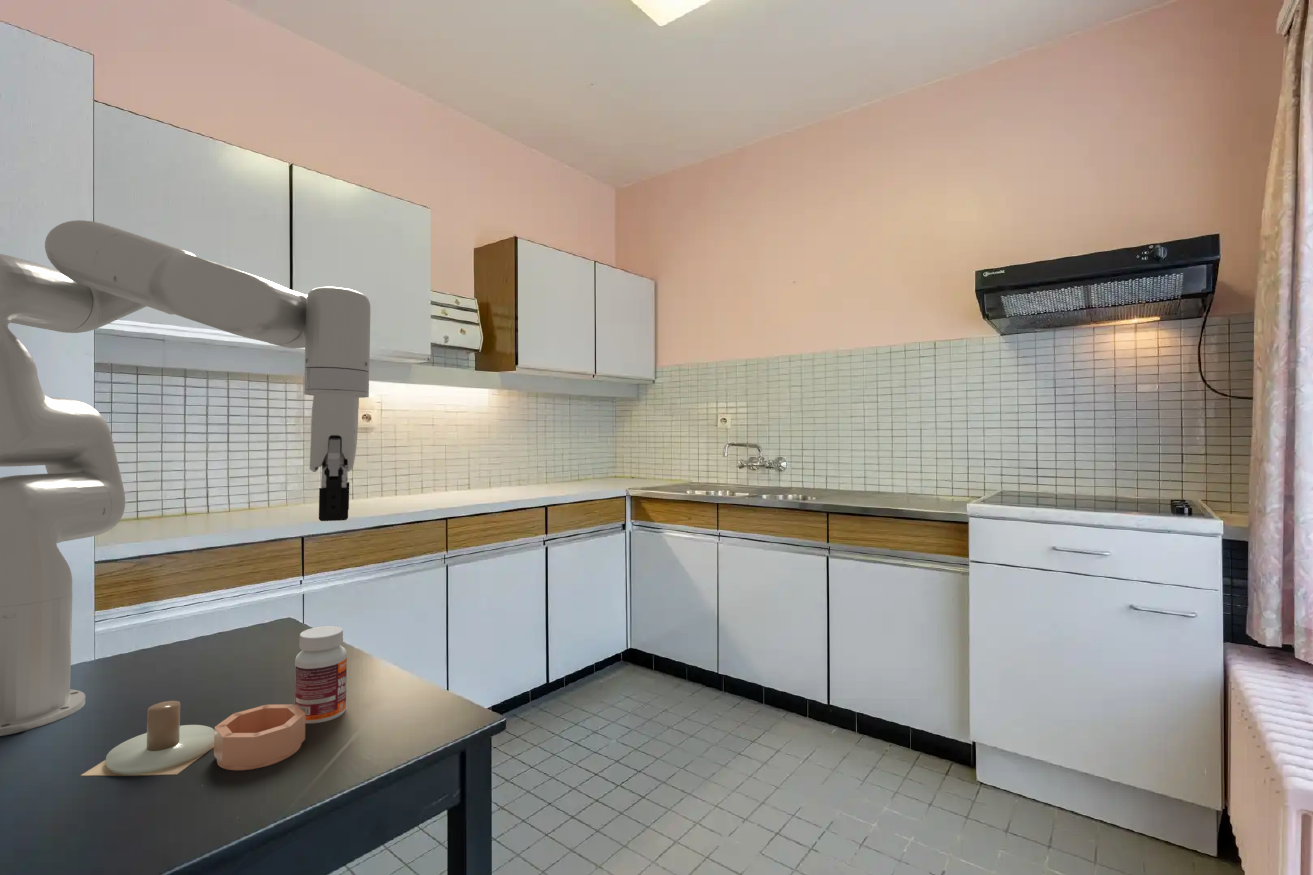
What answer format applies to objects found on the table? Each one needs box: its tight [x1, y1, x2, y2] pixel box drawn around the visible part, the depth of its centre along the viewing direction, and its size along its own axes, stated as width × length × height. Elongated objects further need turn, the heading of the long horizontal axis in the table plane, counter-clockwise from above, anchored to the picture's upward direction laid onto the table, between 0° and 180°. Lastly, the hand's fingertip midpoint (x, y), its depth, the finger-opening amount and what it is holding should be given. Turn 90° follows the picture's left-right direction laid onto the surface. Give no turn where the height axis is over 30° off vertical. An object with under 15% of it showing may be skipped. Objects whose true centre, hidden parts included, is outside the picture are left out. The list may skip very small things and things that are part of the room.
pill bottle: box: [293, 625, 348, 724], centre depth 83 cm, size 6×6×11 cm
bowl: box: [213, 703, 306, 771], centre depth 73 cm, size 8×8×4 cm
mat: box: [80, 745, 214, 777], centre depth 72 cm, size 10×10×1 cm
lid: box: [105, 700, 214, 776], centre depth 72 cm, size 10×10×5 cm
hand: (334, 515), depth 81 cm, fingers open, 9 cm apart
